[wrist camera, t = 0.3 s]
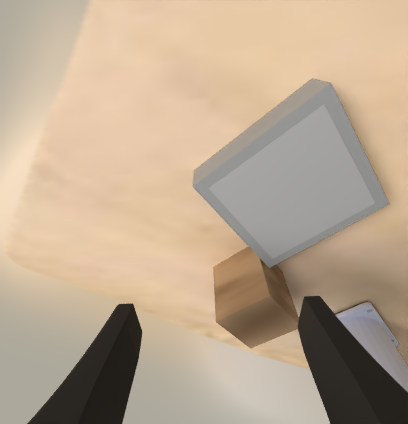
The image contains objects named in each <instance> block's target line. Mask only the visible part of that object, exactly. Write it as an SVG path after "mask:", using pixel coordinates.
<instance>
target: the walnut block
mask: <svg viewBox="0 0 408 424" xmlns="http://www.w3.org/2000/svg"><path fill="white" fill-rule="evenodd" d="M213 270H214V291H215V311H216V322H217V323H218V324H219V325H221V326H222V327H223V328H225V329H226V330H227V331H229V332H230V333H231V334H232V335H234V336H235V337H236V338H238V339H239V340H240V341H242V342H243V343H244V344H246V345H247V346H248V347H250V348H253V347H255V346H258V345H260V344H262V343H265V342H267V341H269V340H272V339H274V338H277V337H279V336H281V335H284V334H286V333H289V332H291V331H293V330H296V329H298V327H297V326H298V322H299V317H298V315H297V312H296V309H295V306H294V304H293V301H292V298H291V295H290V293H289V290H288V287H287V284H286V282H285V279H284V276H283V273H282V271H281V270H280V269H279V268H278V267H277V266H276V265H274V266H272V267H270V268H269V267H268V266H267V265H266V264H265V263H264V262H263V261H262V260H261V259H260V258H259V257H258V256H257V255H256V253H255V252H254V251H253V250H252V249H251V248H250V247H247V248H245V249H243V250H242V251H240V252H238V253H237V254H235V255H233V256H232V257H230V258H228V259H226V260H225V261H223V262H221V263H220V264H218V265H216V266H214V267H213Z"/></svg>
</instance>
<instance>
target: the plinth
mask: <svg viewBox="0 0 408 424" xmlns="http://www.w3.org/2000/svg"><path fill="white" fill-rule="evenodd" d="M193 187H194V189H195V190H196V191H197V192H198V193H199V194H200V195H201V196H202V197H203V198H204V199H205V200H206V201H207V202H208V203H209V204H210V206H211V207H212V208H213V209H214V210H215V211H216V212H217V213H218V214H219V215H220V216H221V217H222V218H223V219H224V220H225V222H226V223H227V224H228V225H229V226H230V227H231V228H232V229H233V230H234V231H235V232H236V233H237V234H238V235H239V236H240V237H241V239H242V240H243V241H244V242H245V243H246V244H247V245H248V246H249V247H250V248H251V249H252V250H253V251H254V252H255V253H256V255H257V256H258V257H259V258H260V259H261V260H262V261H263V262H264V263H265V264H266V265H267V266H268V267H269V268H270V267H272V266H274V265H276V264H278V263H280V262H282V261H284V260H285V259H287V258H289V257H291V256H293V255H295V254H297V253H299V252H300V251H302V250H304V249H306V248H308V247H310V246H312V245H314V244H315V243H317V242H319V241H321V240H323V239H325V238H327V237H329V236H330V235H332V234H334V233H336V232H338V231H340V230H342V229H344V228H345V227H347V226H349V225H351V224H353V223H355V222H357V221H359V220H360V219H362V218H364V217H366V216H368V215H370V214H372V213H374V212H375V211H377V210H379V209H381V208H383V207H385V206H387V205H389V202H388V200H387V198H386V196H385V193H384V191H383V189H382V187H381V185H380V183H379V181H378V179H377V177H376V175H375V173H374V171H373V169H372V167H371V164H370V162H369V160H368V158H367V156H366V154H365V152H364V150H363V148H362V146H361V144H360V142H359V140H358V138H357V135H356V133H355V131H354V129H353V127H352V125H351V123H350V121H349V119H348V117H347V115H346V113H345V111H344V109H343V106H342V104H341V102H340V100H339V98H338V96H337V94H336V92H335V90H334V88H333V86H332V84H331V83H330V82H325V81H321V80H316V79H311V80H310V81H309V82H307V83H306V84H305V85H303V86H302V87H301V88H300V89H298V90H297V91H296V92H294V93H293V94H292V95H291V96H289V97H288V98H287V99H285V100H284V101H283V102H282V103H280V104H279V105H278V106H276V107H275V108H274V109H273V110H271V111H270V112H269V113H267V114H266V115H265V116H264V117H262V118H261V119H260V120H258V121H257V122H256V123H255V124H253V125H252V126H251V127H249V128H248V129H247V130H246V131H244V132H243V133H242V134H240V135H239V136H238V137H237V138H235V139H234V140H233V141H231V142H230V143H229V144H228V145H226V146H225V147H224V148H222V149H221V150H220V151H219V152H217V153H216V154H215V155H213V156H212V157H211V158H210V159H208V160H207V161H206V162H204V163H203V164H202V165H201V166H199V167H198V168H197V169H195V170H194V178H193Z"/></svg>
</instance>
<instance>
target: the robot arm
mask: <svg viewBox="0 0 408 424" xmlns="http://www.w3.org/2000/svg"><path fill="white" fill-rule="evenodd" d="M297 327H298V333H299V335H300V339H301V343H302V346H303V350H304V353H305V356H306V359H307V362H308V364H309V367H310V370H311V372H312V375H313V378H314V380H315V383H316V385H317V388H318V391H319V394H320V396H321V399H322V401H323V404H324V407H325V410H326V412H327V415H328V418H329V421H330V424H408V365H407V364H406V362H405V361H404V359H403V358H402V356H401V354H400V353H399V351H398V350H397V348H396V346H398V345H399V342H398V341H397V340H396V338H395V337H394V335H393V334H392V333H391V331H390V330H389V328H388V327H387V325H386V324H385V323H384V321H383V320H382V318H381V317H380V316H379V314H378V313H377V311H376V310H375V309H374V307H373V306H372V304H371V303H369V302H365V303H362V304H360V305H358V306H355V307H353V308H350V309H348V310H346V311H343V312H341V313H338V314H336V315H335V314H334V313H333V312H332V310H331V309H330V308H329V307H328V306H327V304H326V303H325V302H324V301H323V299H322V298H321V297H320V296H308V297H304V300H303V304H302V309H301V313H300V317H299V322H298V326H297ZM141 338H142V330H141V326H140V323H139V321H138V317H137V314H136V311H135V308H134V305H133V304H119V305H118V306H117V307H116V308H115V310H114V311H113V313H112V314H111V316H110V317H109V319H108V320H107V322H106V324H105V325H104V327H103V328H102V329H101V331H100V332H99V334H98V335H97V337H96V338H95V340H94V341H93V343H92V344H91V345H90V347H89V348H88V350H87V351H86V352H85V354H84V355H83V357H82V358H81V359H80V361H79V362H78V363H77V364H76V366H75V367H74V368H73V370H72V371H71V373H70V374H69V375H68V376H67V378H66V379H65V380H64V381H63V383H62V384H61V385H60V386H59V388H58V389H57V390H56V391H55V392H54V394H53V395H52V396H51V397H50V399H49V400H48V401H47V402H46V403H45V404H44V405H43V407H42V408H41V409H40V410H39V411H38V412H37V414H36V415H35V416H34V417H33V418H32V419H31V420H30V421H29V423H27V424H122V422H123V418H124V414H125V410H126V406H127V402H128V398H129V394H130V390H131V386H132V382H133V378H134V374H135V370H136V366H137V362H138V358H139V352H140V346H141Z"/></svg>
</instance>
